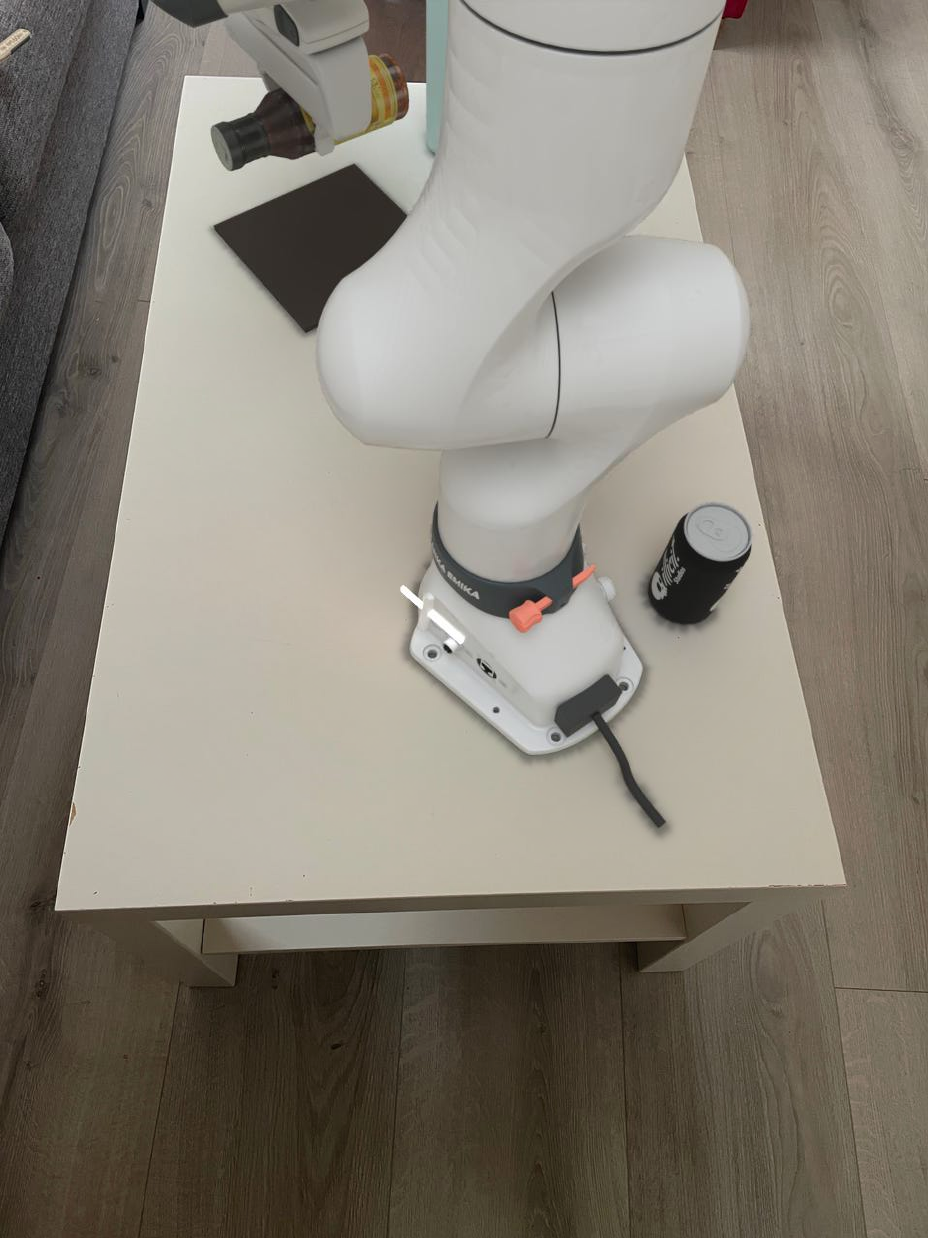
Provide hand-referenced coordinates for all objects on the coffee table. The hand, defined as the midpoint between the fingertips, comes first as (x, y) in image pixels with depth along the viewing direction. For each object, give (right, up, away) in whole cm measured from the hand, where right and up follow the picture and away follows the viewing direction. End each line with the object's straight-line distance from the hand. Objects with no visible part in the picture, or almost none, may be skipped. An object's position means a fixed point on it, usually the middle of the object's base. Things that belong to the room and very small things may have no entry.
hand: (302, 129), depth 84 cm
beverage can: (+37, -46, -2) cm, 59 cm away
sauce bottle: (+9, +6, +3) cm, 11 cm away
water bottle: (+16, +13, +26) cm, 33 cm away
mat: (0, -4, +17) cm, 17 cm away
